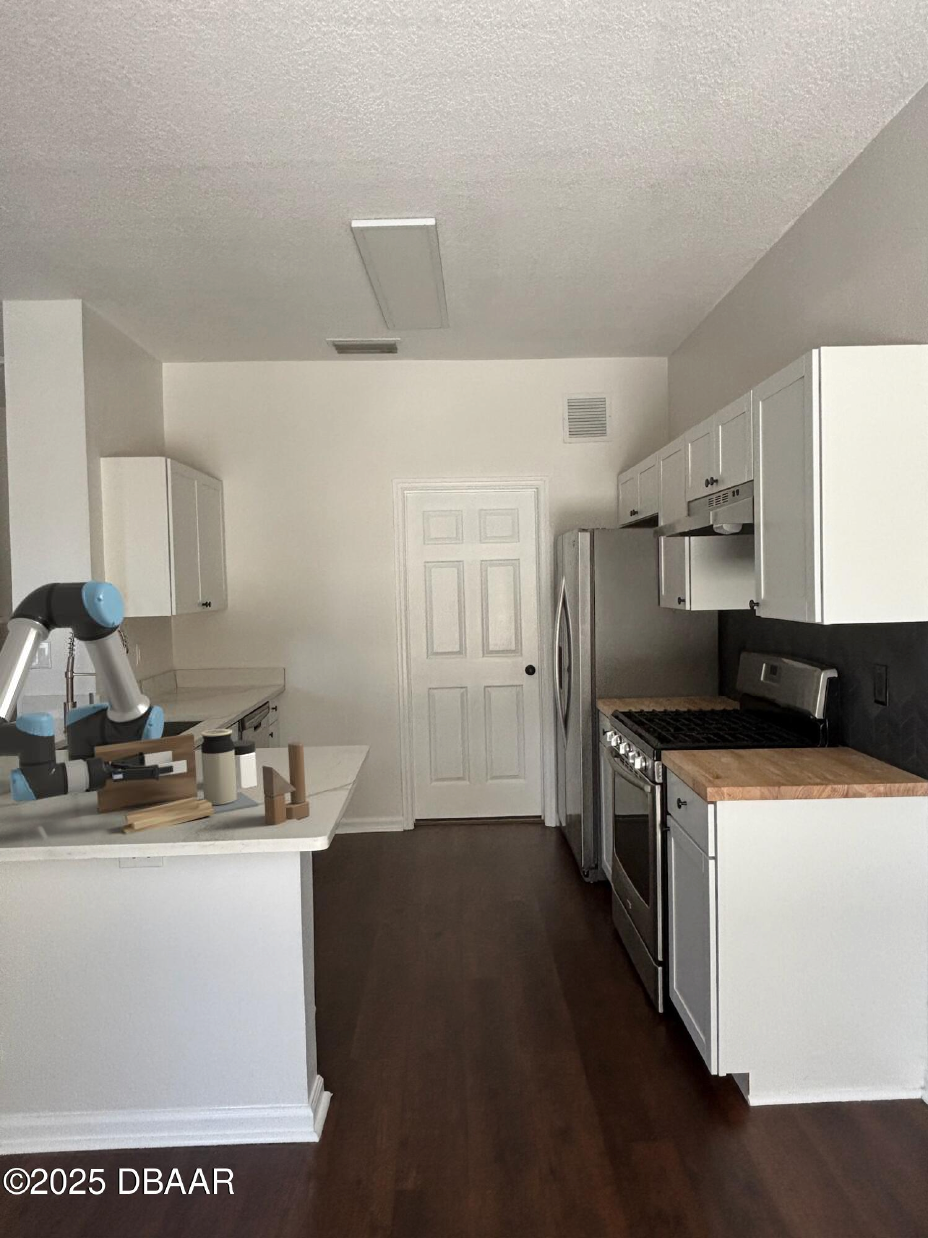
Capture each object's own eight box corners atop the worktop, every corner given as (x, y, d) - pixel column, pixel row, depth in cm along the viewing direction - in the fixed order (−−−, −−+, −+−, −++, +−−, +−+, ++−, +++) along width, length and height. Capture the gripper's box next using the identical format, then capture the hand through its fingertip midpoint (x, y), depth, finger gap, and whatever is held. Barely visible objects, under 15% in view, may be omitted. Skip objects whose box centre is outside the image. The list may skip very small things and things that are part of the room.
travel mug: (219, 807, 206) (215, 735, 205) (197, 803, 210) (193, 733, 209) (243, 799, 213) (239, 730, 212) (222, 796, 217) (218, 727, 216)
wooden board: (97, 813, 209) (92, 746, 208) (194, 796, 222) (190, 732, 221) (99, 816, 206) (95, 748, 205) (197, 799, 219) (193, 734, 218)
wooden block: (264, 825, 194) (261, 749, 193) (300, 814, 202) (296, 740, 201) (275, 828, 192) (271, 751, 191) (310, 816, 200) (306, 742, 199)
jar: (220, 788, 229) (217, 745, 228) (236, 781, 237) (234, 739, 236) (248, 790, 226) (246, 746, 226) (264, 782, 234) (262, 740, 234)
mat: (187, 806, 213) (186, 801, 213) (240, 796, 220) (240, 792, 220) (202, 819, 201) (202, 814, 201) (258, 808, 209) (258, 803, 209)
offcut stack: (121, 831, 194) (119, 815, 193) (207, 809, 205) (205, 793, 204) (127, 837, 189) (124, 820, 189) (214, 814, 200) (212, 798, 199)
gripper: (78, 780, 204) (166, 767, 216) (96, 802, 184) (193, 786, 195) (76, 750, 204) (165, 738, 216) (94, 769, 183) (191, 754, 195)
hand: (178, 761), depth 205 cm, fingers open, 13 cm apart
